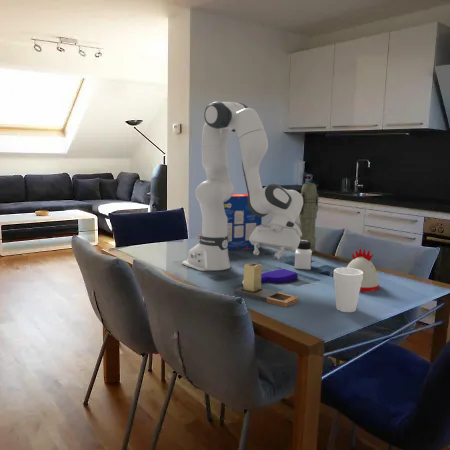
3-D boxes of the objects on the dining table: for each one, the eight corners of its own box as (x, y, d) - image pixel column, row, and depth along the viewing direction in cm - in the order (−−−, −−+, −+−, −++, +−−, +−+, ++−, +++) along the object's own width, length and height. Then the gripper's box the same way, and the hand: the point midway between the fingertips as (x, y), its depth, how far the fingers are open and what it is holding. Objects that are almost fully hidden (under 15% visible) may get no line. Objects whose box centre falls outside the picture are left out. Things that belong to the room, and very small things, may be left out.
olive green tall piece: (320, 251, 240) (323, 183, 234) (305, 254, 233) (308, 184, 227) (307, 248, 247) (310, 182, 241) (292, 250, 240) (294, 183, 234)
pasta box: (252, 244, 254) (254, 193, 250) (260, 247, 247) (262, 195, 242) (206, 248, 242) (207, 195, 237) (213, 252, 235) (214, 197, 230)
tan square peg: (243, 294, 169) (244, 264, 167) (250, 291, 172) (251, 262, 170) (253, 296, 166) (254, 266, 164) (260, 293, 170) (261, 264, 168)
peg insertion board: (234, 293, 169) (234, 289, 169) (247, 288, 175) (247, 284, 175) (286, 307, 156) (286, 302, 155) (298, 301, 162) (298, 297, 162)
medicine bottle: (310, 269, 203) (312, 243, 201) (294, 268, 205) (295, 242, 203) (311, 265, 210) (312, 239, 208) (295, 264, 212) (296, 239, 210)
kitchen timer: (373, 294, 171) (375, 254, 169) (337, 287, 179) (339, 249, 176) (382, 284, 183) (385, 247, 180) (348, 279, 190) (350, 243, 188)
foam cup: (328, 304, 159) (330, 267, 157) (354, 303, 160) (356, 267, 158) (337, 314, 150) (339, 275, 148) (364, 313, 151) (367, 275, 148)
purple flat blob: (281, 267, 197) (236, 277, 182) (300, 273, 188) (254, 284, 174) (281, 274, 197) (236, 284, 183) (300, 280, 189) (254, 291, 174)
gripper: (255, 219, 183) (239, 247, 177) (300, 224, 171) (285, 255, 165) (261, 228, 187) (246, 256, 181) (306, 235, 175) (291, 265, 169)
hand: (265, 256), depth 173 cm, fingers open, 8 cm apart
